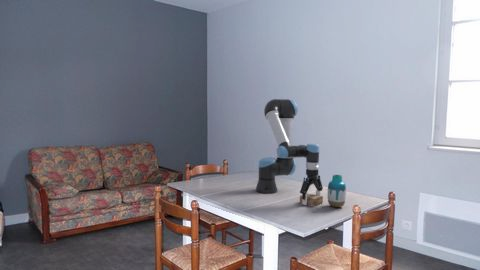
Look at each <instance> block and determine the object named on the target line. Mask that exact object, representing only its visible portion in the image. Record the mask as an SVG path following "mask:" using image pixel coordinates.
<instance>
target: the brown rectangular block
mask: <svg viewBox="0 0 480 270" xmlns="http://www.w3.org/2000/svg"><path fill="white" fill-rule="evenodd" d="M306 194H307V205H306V206H311V207H314V206H315V208H316V207H319V206H321V205H323V204H324V203H323V202H324V196H322V195H320V196H318V195H316V194H312V193H309V192H307V193H306ZM302 200H303V199H302V194H301V195H299V204H301V205H303V204H302ZM322 203H323V204H322ZM320 204H321V205H320ZM318 205H319V206H318Z"/></svg>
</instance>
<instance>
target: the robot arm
mask: <svg viewBox="0 0 480 270" xmlns="http://www.w3.org/2000/svg"><path fill="white" fill-rule="evenodd" d="M298 109H299V108H298V105H297V103H296V101H295V100H294V99H290V98H289V99H288V98H287V99H285V98H284V99H283V98H282V99H281V98H280V99H278V98H275V99H274V98H273V99H271V100H269V101H268V102H267V103H266V104H265V106H264V111H263V114H264V117H265V120H267V121H268V123H269V126H270V129H271V131H272V134H273V136H274V139H275V142H276V145H277V147H276V155H277V156H276V158H275V157H272V156H271V157H262V158H261V159H259V161H258V180H257V184H256V186H255V192H257V193H260V194H275V193H277V192H278V187H277V181H276V177H279V176H292V175H293V174H294V173H295V171H296V169H297V162H296V160H295V159H294V158H305V159H306V160H305V161H306V162H305V168H306V170H305V175H306V176H307V177H303V179H302V184H301V188H300V189H299V193H300V194H301V195H302V199H303V200H302V204H301V205H303V206H308V205H307V193H308V191H309V189H310V187H311V186H312V185H314V187H315V189H316V190H315V195H318V196H321V192H322V191H323V188H324V187H323V184H322V181H321V176H320V175H319V163H320V161H319V160H320V146H319V144H318V143H307V144H306V145H305V144H298V145H292V133H293V130H292V129H293V128H292V127H293V126H292V125H293V124H292V123H293V120H294V119H295V116H297V114H298V112H299V111H298Z"/></svg>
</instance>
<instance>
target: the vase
mask: <svg viewBox="0 0 480 270" xmlns="http://www.w3.org/2000/svg"><path fill="white" fill-rule="evenodd" d="M346 192H347V185H346V183H345V181H343V176H342V175H341V174H333V175H332V179H331V181H330V180H329V182H328V187H327V204H328V205H329V206H331V207H333V208H341V207H343V206H344V205H345V204H346V198H347V197H346V195H347V193H346Z"/></svg>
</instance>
